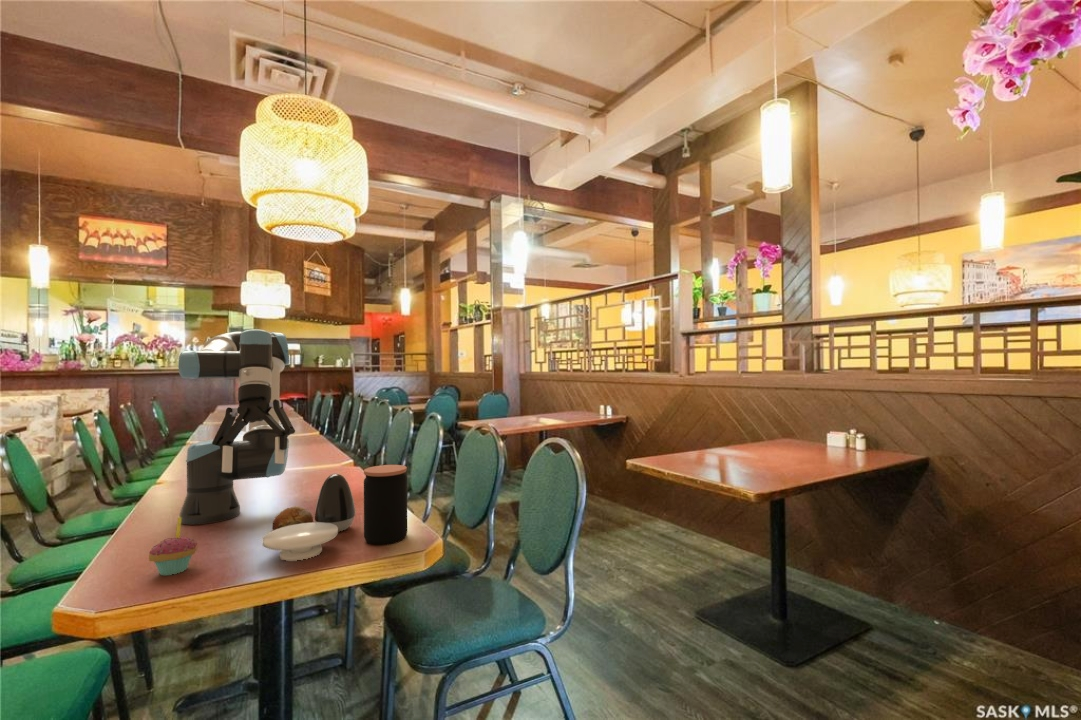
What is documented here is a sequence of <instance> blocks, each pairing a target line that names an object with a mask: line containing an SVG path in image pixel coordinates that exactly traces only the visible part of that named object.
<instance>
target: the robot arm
mask: <svg viewBox="0 0 1081 720" xmlns="http://www.w3.org/2000/svg"><path fill="white" fill-rule="evenodd" d="M288 344H289V343H288V339H287V336H286V335H285V333H282V332H274V331H270V332H268V331H267V330H264V329H258V328H257V329H255V328H254V329H247V330H244V331H231V332H226V333H222V334H218V335H215V336H213V337H211V338H210V339H208V340H207V341H206V342H205V343H204V344H203V347H202V348H201V349H200V350H187V351H181V352H180V353H179V356H178V362H177V363H178V365H177V366H178V373H179V376H180V377H181V378H183V379H193V380H198V379H238V386H239V387H238V389H237V391H238V393H237V400H238V406H237V408H236V407H234V408H232V407H227V408H226V409H225V413H224V418H223V420H222V422H221V424H220V426H219V428H218V430H217V432H216V434H215V436H214V438H212V439H207V440H203V441H198V442H195V443H192V444H191V445H190V446H189V447H188V448H187V452H186V453H187V454H186V460H185V463H186V496H185V499H184V500H183V503H182V506H181V509H180V511H179V515H178V517H179V516H180V513H181V517H182V518H181V525H190V526H191V525H193V526H194V525H195V526H196V525H205V524H206V525H207V524H212V523H217V522H223V521H226V520H230V519H232V518H235V517H238V516H239V515H240V514H241V505H240V502H239V500H238V498H237V495H236V493H235V489H234V481H237V480H248V479H249V480H250V479H259V478H270V477H276V476H281V475H282V474H284V472H285V471H286V468H287V462H288V457H289V455H288V454H289V449H290V448H289V447H290V444H289V443H290V440H289V438H288V437H289V436H290V435H294V434H295V433H296V430H295V427H294V426H293V424H292V422H291V421H290V418H289V416H288V415H287V413H286V411H285V409H284V402H283V401H281V400H280V394H281V393H280V390H281V388H280V386H281V385H280V384H281V382H280V378H281V377H280V375H281V373H282V372H283V371H284V370H285V366H288V365H289V364H290V352H289V345H288ZM280 423H281V424H280ZM247 425H248V431H246V432H245V433H244V434H243V435H242V440H239V441H235V439H237V437H239V434H240V433H241V432H242V431H243V429H244V428H245V426H247ZM281 425H282V426H281Z"/></svg>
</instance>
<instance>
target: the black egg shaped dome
mask: <svg viewBox="0 0 1081 720" xmlns="http://www.w3.org/2000/svg"><path fill="white" fill-rule="evenodd" d="M354 500H355V499H354V496H353V493H352V490H351V487H350V485H349V482H348V481H347V478H345V477H344V475H342V474H340V473H339V474H338V473H333V474H330V475H329V476H328V477H327V478H325V480H324V482H323V483H322V485H321V488H320V491H319V493H318V498H317V501H316V505H315V512H314V520H315V522H323V523H331V524H334V525H336V526H337V527H338V533H341V532H343V530H344V531H345V530H347V529H348V528H349V527H350V526H351V525H352V524H353V521H354V519H355V516H356V507H355V505H356V504H355V501H354ZM340 531H341V532H340Z"/></svg>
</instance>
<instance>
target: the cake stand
mask: <svg viewBox="0 0 1081 720" xmlns="http://www.w3.org/2000/svg"><path fill="white" fill-rule="evenodd" d="M338 534H339V532H338V527H337V526H336V525H334V524H331V523H323V522H316V521H314V522H312V523H302V524H295V525H290V526H286V527H282V528H279V529H276V530H271V531H269V532H267V533H266V534H264V535H263V537H262V547H263V548H266V549H269V550H274V551H280V552H279V560H281V559H282V560H281V561H283V560H286V561H285V562H298V561H297V560H301V561H304V560H303V559H306V560H309V559H308V558H310V559H312V558H311V557H313V558H315V557H314V556H316V557H318V556H319V555H320V553H321V552H322V553H323V545H322V544H325V543H328V542H330V541H332V540H333V539H334V538H336V537H337V536H338ZM317 555H318V556H317Z"/></svg>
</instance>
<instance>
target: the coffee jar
mask: <svg viewBox="0 0 1081 720" xmlns="http://www.w3.org/2000/svg"><path fill="white" fill-rule="evenodd" d="M407 470H408V468H407V466H405V465H401V464H384V465H375V466H370V467H366V468H365V469H364V470H363V474H364V476H365V477H364V479H363V537H364V540H365V541H366V542H367V543H368V544H370V545H374V546H386V545H387V544H388V545H392V544H396V543H399V542H401V541H403V540H404V539H405V538H406V536H407V534H408V476H407V475H406V473H407ZM388 545H387V546H388Z"/></svg>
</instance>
